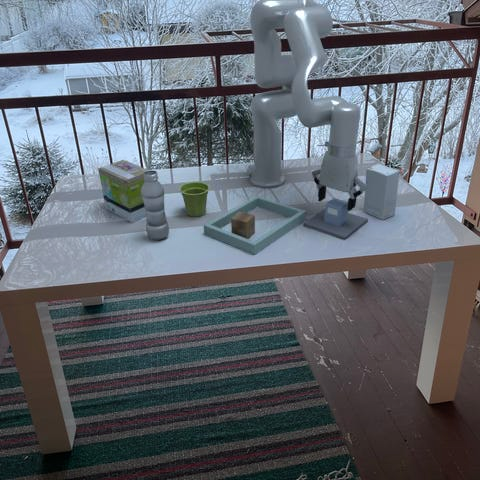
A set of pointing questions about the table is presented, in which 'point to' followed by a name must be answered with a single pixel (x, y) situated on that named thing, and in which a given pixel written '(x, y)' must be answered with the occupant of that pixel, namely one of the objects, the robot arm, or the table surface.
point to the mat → (333, 230)
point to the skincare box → (381, 191)
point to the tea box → (123, 189)
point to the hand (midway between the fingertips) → (335, 204)
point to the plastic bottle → (154, 206)
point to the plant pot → (195, 197)
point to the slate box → (336, 212)
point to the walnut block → (243, 224)
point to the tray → (265, 240)
